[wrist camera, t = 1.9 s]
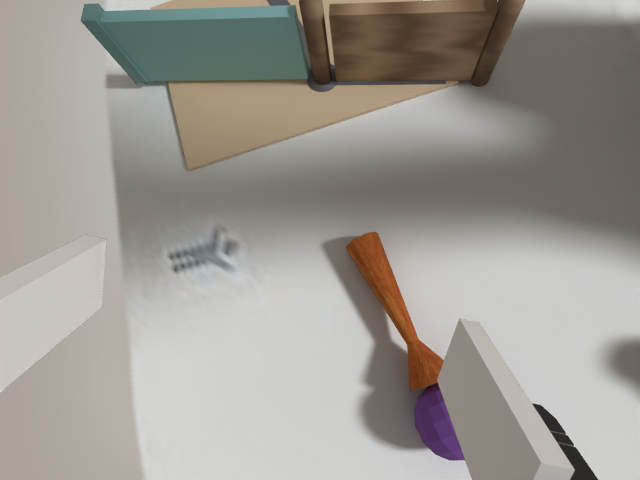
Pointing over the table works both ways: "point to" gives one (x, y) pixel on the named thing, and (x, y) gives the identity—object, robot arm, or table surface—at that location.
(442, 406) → the purple and orange maraca
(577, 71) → the table surface
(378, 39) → the fence frame
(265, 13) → the fence gate
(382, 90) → the mat
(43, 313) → the robot arm
